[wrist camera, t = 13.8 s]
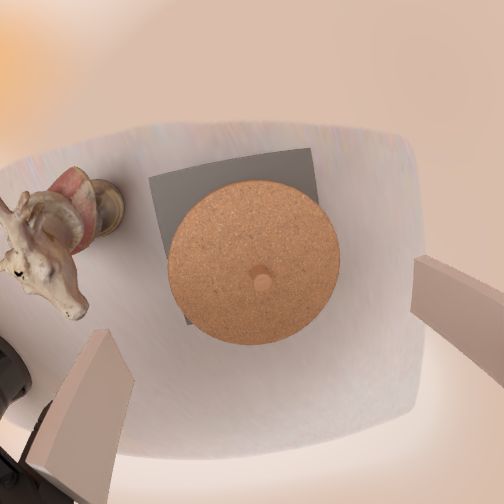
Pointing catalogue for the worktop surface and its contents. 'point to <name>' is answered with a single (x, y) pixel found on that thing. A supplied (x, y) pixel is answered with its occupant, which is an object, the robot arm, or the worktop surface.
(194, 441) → the worktop surface
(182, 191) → the block
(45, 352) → the worktop surface
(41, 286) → the decorative bust
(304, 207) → the lidded jar
